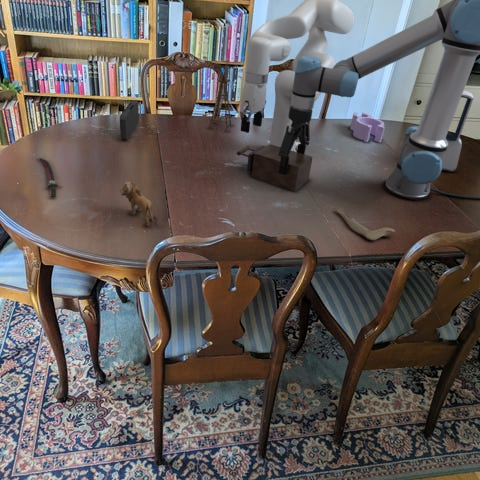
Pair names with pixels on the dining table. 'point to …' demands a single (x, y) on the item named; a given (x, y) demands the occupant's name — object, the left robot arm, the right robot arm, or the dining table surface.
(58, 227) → the dining table surface
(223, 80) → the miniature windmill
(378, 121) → the clip
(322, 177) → the dining table surface
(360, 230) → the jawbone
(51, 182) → the sword
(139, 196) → the lion figurine
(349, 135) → the dining table surface
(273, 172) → the dark wooden block
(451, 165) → the electronic device
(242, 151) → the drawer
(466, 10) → the right robot arm
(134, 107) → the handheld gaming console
